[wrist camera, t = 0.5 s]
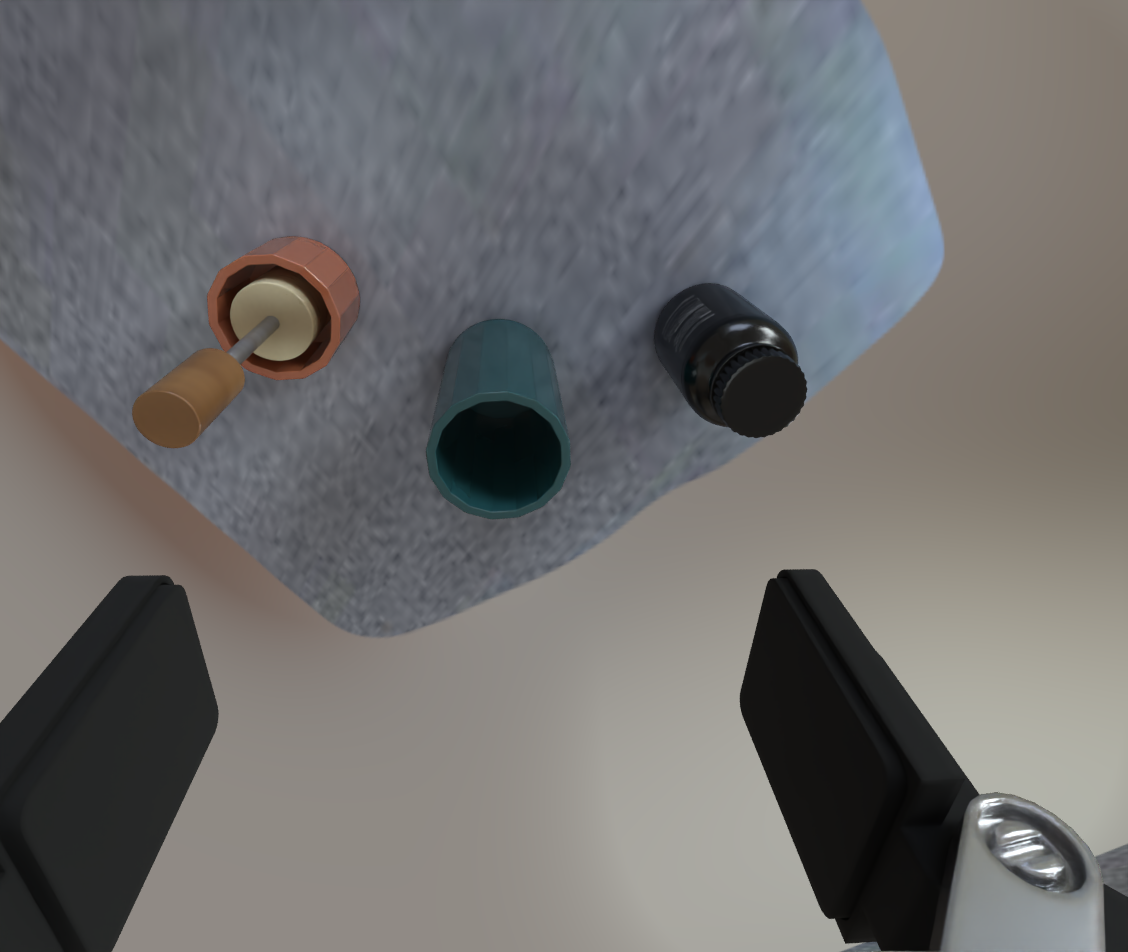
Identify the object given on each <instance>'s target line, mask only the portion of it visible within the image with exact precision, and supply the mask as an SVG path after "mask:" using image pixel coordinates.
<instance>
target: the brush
mask: <svg viewBox="0 0 1128 952" xmlns="http://www.w3.org/2000/svg"><path fill="white" fill-rule="evenodd" d="M230 320H231V324H232V327H233V330H234V332H235V334H236V336H237V337H238V339H239V340H240V341H238V342H237V343H236V344H235V345H234V346H233V347H232V348H230V349H229V350H228V351H227V352H224V351H222V350H218V349H213V348H206V349H201V350H199V351H197V352H195V353H194V354H192V355H191V356H190V357H189V358H187V359H186V360H185V361H184V362H182V363H181V364H180V365H178V366H177V367H176V368H175V369H173V370H172V371H171V372H170V373H168V374H167V375H166V376H164V377H163V378H162V379H161V380H159V381H158V382H157V383H156V384H154V385H153V386H152V387H150V388H149V389H148V390H147V391H145V392H144V393H143V394H142V395H140V396H139V397H138V398H137V399H136V401H135V403H134V405H133V409H132V416H133V420H134V423H135V425H136V427H137V429H138V430H139V431H140V433H141V434H142V435H143V436H144V437H146V438H147V439H148V440H150V441H151V442H153V443H155V444H157V445H160V446H163V447H167V448H181V447H185V446H188V445H190V444H191V443H193V442H194V441H195V440H196V439H197V438H198V437H199V436H200V435H201V434H202V433H203V432H204V430H205V429H206V428H207V427H208V426H209V425H210V424H211V423H212V422H213V421H214V420H215V419H216V418H217V417H218V415H219V414H220V413H221V412H222V411H223V410H224V409H225V408H226V407H227V406H228V405H229V404H230V403H231V401H232V400H233V399H234V398H235V397H236V396H237V395H238V394H239V393H240V392H241V390H242V389H243V386H244V382H245V377H244V372H243V369H242V367H241V366H240V365H241V364H242V363H243V362H244V361H245V360H246V359H247V358H248V357H249V356H250V355H251V354H252V353H254V354H256V355H258V356H260V357H263V358H266V359H269V360H276V361H284V360H290V359H293V358H295V357H298V356H299V355H301V354H302V353H303V352H305V350H306V349H307V348H308V347H309V346H310V345H311V343H312V342H313V341H314V340H315V338H316V337H317V336H318V335H319V334H320V332H321V331H322V330H323V329H324V328H325V326H326V325H327V324H328V323H329V321H330V320H331V315H330V313H329V311H328V309H327V307H326V304H325V302H324V300H323V298H322V295H321V293H320V292H319V291H318V290H317V289H316V288H314V287H313V286H312V285H311V284H310V283H309V282H308V281H307V280H306V279H305V278H304V277H303V276H302V275H301V274H299V273H296V272H293V271H291V270H288V269H286V268H283V267H281V266H278V265H276V266H275V267H273V268H272V269H270V270H269V271H267V272H266V273H265V274H263V275H262V276H260V277H259V278H257V279H256V280H254V281H253V282H251V283H250V284H248V285H247V286H246V287H244V288H243V289H241V290H240V291H239V292H238V293H237V295H236V296H235V298H234V299H233V302H232V304H231V309H230Z"/></svg>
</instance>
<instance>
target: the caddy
mask: <svg viewBox="0 0 1128 952" xmlns="http://www.w3.org/2000/svg"><path fill="white" fill-rule="evenodd" d="M276 265H278V266H281V267H283V268H286V269H288V270H291V271H293V272H296V273H299V274H301V275H302V276H303V277H304V278H305V279H306V280H307V281H308V282H309V283H310V284H311V285H312V286H313V287H314V288H316V289H317V290H318V291H319V292H320V293H321V295H322V298H323V300H324V302H325V304H326V307H327V309H328V311H329V313H330V315H331V320H330V321H329V323H328V324H327V325H326V326H325V328H324V329H323V330H322V331H321V332H320V334H319V335H318V336H317V337H316V338H315V340H314V341H313V342H312V343H311V345H310V346H309V347H308V348H307V349H306V350H305V352H303V353H302V354H301V355H299V356H298V357H295V358H293V359H290V360H284V361H276V360H269V359H266V358H263V357H260V356H258V355H256V354H254V353H252V354H251V355H250V356H249V357H248V358H247V359H246V360H245V361H244V362H243V363H242V364H241V365H242V366H243V367H244V368H245V369H246V370H248V371H251V372H254V373H257V374H259V375H262V376H265V377H268V378H271V379H274V380H288V379H303V378H306V377H308V376H309V375H311V374H313V373H315V372H316V371H318V370H320V369H322V368H323V367H325V366H326V365H327V364H328V363H329V361H330V360H331V358H332V357H333V356H334V354H335V353H336V351H337V350H338V348H339V347H340V345H341V344H342V343H343V341H344V340H345V338H346V337H347V335H348V333H349V332H350V330H351V328H352V327H353V325H354V323H355V322H356V320H357V317H358V313H359V307H360V296H359V290H358V286H357V283H356V280H355V277H354V275H353V274H352V272H351V270H350V268H349V267H348V266H347V264H346V263H345V262H344V261H343V259H342V258H341V257H340V256H339V255H338V254H336V253H335V252H334V251H333V250H331V249H330V248H329V247H327V246H325V245H323V244H322V243H320V242H317V241H315V240H312V239H308V238H304V237H296V236H289V237H281V238H275V239H272V240H270V241H269V242H267V243H265V244H263V245H261V246H260V247H258V248H256V249H254V250H252V251H251V252H249V253H247V254H245V255H244V256H242V257H240V258H239V259H237V260H235V261H234V262H232V263H231V264H229V265H227V266H226V267H224V268H222V269H221V270H220V271H219V272H218V274H217V276H216V278H215V280H214V282H213V284H212V286H211V288H210V290H209V292H208V296H207V302H208V317H209V325H210V327H211V329H212V330H213V332H214V334H215V336H216V338H217V339H218V341H219V343H220V345H221V347H222V348H223V350H224V351H225V352H227V351H228V350H229V349H230V348H232V347H233V346H234V345H235V344H236V343H237V342H238V341H240V340H239V339H238V337H237V336H236V334H235V332H234V330H233V327H232V324H231V320H230V309H231V304H232V302H233V299H234V298H235V296H236V295H237V293H238V292H239V291H240V290H241V289H243V288H244V287H246V286H247V285H248V284H250V283H251V282H253V281H254V280H256V279H257V278H259V277H260V276H262V275H263V274H265V273H266V272H267V271H269V270H270V269H272V268H273V267H275V266H276Z"/></svg>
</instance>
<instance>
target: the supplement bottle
mask: <svg viewBox="0 0 1128 952" xmlns="http://www.w3.org/2000/svg"><path fill="white" fill-rule="evenodd" d="M654 344H655V349H656V353H657V355H658V358H659V360H660V362H661V363H662V365H663V367H664V368H665V370H666V371H667V373H668V374H669V376H670V377H671V379H672V380H673V382H674V383H675V384H676V386H677V387H678V389H679V390H680V392H681V393H682V395H683V396H684V398H685V399H686V401H687V402H688V404H689V405H690V406H691V408H692V409H693V410H694V411H695V412H696V413H697V414H698V415H699V416H700V417H701V418H703V419H704V420H706V421H708V422H710V423H712V424H715V425H719V426H723V427H729V428H731V429H732V431H733V432H737V433H738V434H739V435H745V436H746V437H754V438H758V437H766V436H768V435H773V434H774V433H776V432H779V431H781V430H782V429H783V428H784V427H787V426H788V425H789V424H790V422H792V421H794V420H795V417H796V416H797V415H798V414H799V413H800V410H801V408H802V407H803V406H804V401H805V399H806V392H807V387H806V383H807V381H806V380H805V378H804V373H803V372H802V371H801V368H800V366H799V365H798V354H797V350H796V347H795V344H794V342H793V340H792V338H791V336H790V335H789V333H788V332H787V331H786V330H785V329H784V328H783V327H782V326H781V325H780V324H779V323H777V322H776V321H775V320H773V319H772V318H771V317H769V316H768V315H767V314H765V313H764V312H763V311H761V310H760V309H759V308H757V307H756V306H754V305H753V304H752V303H750V302H749V301H748V300H746V299H745V298H744V297H742V296H741V295H740V294H738V293H737V292H735V291H734V290H732V289H730V288H728V287H725V286H723V285H719V284H711V283H708V284H699V285H695V286H692V287H689V288H687V289H685V290H683V291H681V292H680V293H678V294H677V295H676V296H674V297H673V298H672V299H671V300H670V301H669V302H668V303H667V305H666V306H665V307H664V309H663V310H662V312H661V314H660V316H659V318H658V320H657V323H656V327H655V333H654Z"/></svg>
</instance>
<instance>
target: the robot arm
mask: <svg viewBox="0 0 1128 952" xmlns="http://www.w3.org/2000/svg"><path fill="white" fill-rule="evenodd" d="M740 707H741V712H742V715H743V718H744V721H745V723H746V726H747V728H748V731H749V733H750V736H751V737H752V741H753V743H754V745H755V748H756V750H757V753H758V755H759V758H760V760H761V763H762V765H763V767H764V770H765V772H766V775H767V777H768V780H769V783H770V785H771V787H772V790H773V792H774V795H775V797H776V800H777V802H778V805H779V807H780V810H781V812H782V814H783V817H784V820H785V822H786V824H787V827H788V829H789V832H790V834H791V837H792V839H793V842H794V844H795V846H796V849H797V852H798V854H799V856H800V859H801V861H802V864H803V866H804V869H805V871H806V874H807V876H808V879H809V881H810V884H811V886H812V889H813V891H814V894H815V896H816V899H817V901H818V904H819V906H820V908H821V910H822V912H823V913H824V915H825V916H826V917H827V918H829V919H834V918H835V920H836V922H837V925H838V927H839V929H840V932H841V934H842V937H843V939H844V941H845V943H862V942H877V943H878V945H879V947H880V949H881V951H874V952H1128V897H1127V896H1125V895H1123V894H1121V893H1119V892H1118V891H1116V890H1114V889H1112V888H1110V887H1109V886H1107V885H1105V884H1103V879H1102V875H1101V871H1100V866H1099V864H1098V862H1097V860H1096V859H1095V857H1094V855H1093V853H1092V852H1091V850H1090V848H1089V847H1088V846H1087V844H1086V843H1085V842H1084V841H1083V840H1082V839H1081V838H1080V837H1079V835H1078V834H1077V833H1076V832H1075V831H1074V830H1073V829H1072V828H1071V827H1070V826H1068V825H1067V824H1066V823H1065V822H1063V821H1062V820H1061V819H1060V818H1058V817H1057V816H1056V815H1055V814H1053V813H1051V812H1050V811H1048V810H1046V809H1044V808H1043V807H1041V806H1039V805H1038V804H1036V803H1034V802H1031V801H1029V800H1026V799H1023V798H1021V797H1018V796H1015V795H1011V794H1004V793H998V792H994V793H987V794H981V795H979V793H978V792H977V790H976V789H975V788H974V786H973V785H972V783H971V782H970V781H969V779H968V778H967V776H966V775H965V774H964V772H963V771H962V769H961V768H960V766H959V765H958V764H957V762H956V761H955V759H954V758H953V757H952V755H951V754H950V752H949V751H948V750H947V748H946V747H945V745H944V744H943V742H942V741H941V740H940V738H939V737H938V735H937V734H936V733H935V731H934V730H933V728H932V727H931V726H930V724H929V723H928V721H927V720H926V719H925V717H924V716H923V714H922V713H921V711H920V710H919V709H918V707H917V706H916V704H915V703H914V702H913V700H912V699H911V698H910V696H909V695H908V693H907V692H906V690H905V689H904V687H903V686H902V685H901V683H900V682H899V680H898V679H897V678H896V676H895V675H894V674H893V672H892V671H891V669H890V668H889V666H888V665H887V664H886V662H885V661H884V659H883V658H882V657H881V656H880V655H879V654H878V653H877V651H875V649H874V648H873V646H872V645H871V644H870V642H869V641H868V639H867V638H866V637H865V635H864V634H863V632H862V631H861V629H860V628H859V627H858V625H857V624H856V622H855V621H854V620H853V618H852V617H851V615H850V614H849V612H848V611H847V610H846V608H845V607H844V605H843V604H842V603H841V601H840V600H839V598H838V597H837V595H836V594H835V593H834V591H833V590H832V589H831V587H830V586H829V584H828V583H827V581H826V580H825V578H824V577H823V576H822V574H821V573H820V572H819V571H817V570H814V569H806V570H805V569H803V570H802V569H800V570H782V571H780V572H779V574H778V576H777V578H773V579H770V580H769V581H768V583H767V586H766V590H765V594H764V598H763V602H762V606H761V610H760V614H759V619H758V623H757V627H756V631H755V635H754V639H753V643H752V647H751V651H750V655H749V659H748V663H747V668H746V671H745V676H744V680H743V684H742V688H741V692H740ZM217 723H218V706H217V702H216V699H215V695H214V692H213V688H212V684H211V681H210V677H209V674H208V670H207V667H206V663H205V660H204V656H203V652H202V649H201V645H200V642H199V638H198V635H197V631H196V628H195V624H194V620H193V617H192V613H191V609H190V606H189V602H188V599H187V595H186V592H185V590H184V588H183V587H182V586H181V585H174V583H173V581H172V580H171V579H170V577H168V576H165V575H162V576H126V577H123V578H122V579H121V580H119V581H118V583H117V584H116V585H115V586H114V587H113V589H112V590H111V591H110V592H109V593H108V594H107V596H106V597H105V598H104V599H103V601H102V602H101V603H100V604H99V605H98V606H97V608H96V609H95V610H94V611H93V612H92V614H91V615H90V616H89V617H88V618H87V620H86V621H85V622H84V623H83V625H82V626H81V627H80V628H79V629H78V630H77V632H76V633H75V634H74V635H73V636H72V638H71V639H70V640H69V641H68V642H67V644H66V645H65V646H64V647H63V648H62V650H61V651H60V652H59V653H58V654H57V656H56V657H55V658H54V659H53V660H52V662H51V663H50V664H49V665H48V666H47V668H46V669H45V670H44V671H43V672H42V674H41V675H40V676H39V677H38V678H37V680H36V681H35V682H34V683H33V684H32V686H31V687H30V688H29V689H28V690H27V692H26V693H25V694H24V695H23V696H22V698H21V699H20V700H19V701H18V702H17V704H16V705H15V706H14V707H13V708H12V710H11V711H10V712H9V713H8V714H7V716H6V717H5V718H4V719H3V720H2V722H1V723H0V952H111V951H112V950H113V948H114V946H115V944H116V942H117V940H118V938H119V935H120V933H121V931H122V929H123V927H124V925H125V923H126V920H127V918H128V916H129V914H130V912H131V910H132V908H133V906H134V904H135V901H136V899H137V897H138V895H139V893H140V891H141V888H142V887H143V884H144V882H145V880H146V878H147V876H148V874H149V872H150V869H151V867H152V865H153V863H154V861H155V859H156V857H157V854H158V852H159V850H160V848H161V846H162V844H163V842H164V840H165V837H166V835H167V833H168V831H169V829H170V827H171V824H172V823H173V820H174V818H175V816H176V814H177V812H178V810H179V807H180V806H181V803H182V801H183V799H184V797H185V795H186V793H187V790H188V789H189V786H190V784H191V782H192V780H193V778H194V776H195V774H196V772H197V769H198V767H199V765H200V763H201V761H202V759H203V757H204V754H205V752H206V750H207V748H208V746H209V744H210V742H211V739H212V737H213V735H214V733H215V731H216V728H217Z"/></svg>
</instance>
